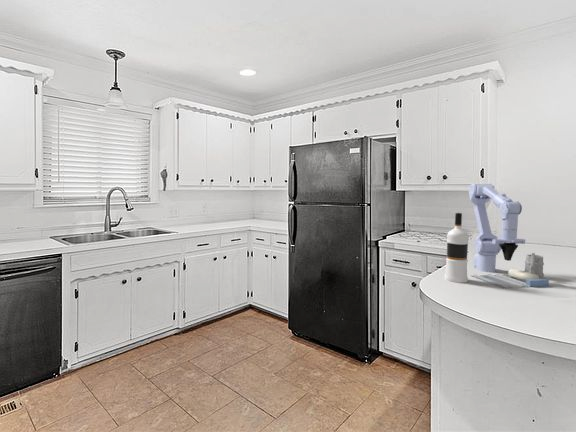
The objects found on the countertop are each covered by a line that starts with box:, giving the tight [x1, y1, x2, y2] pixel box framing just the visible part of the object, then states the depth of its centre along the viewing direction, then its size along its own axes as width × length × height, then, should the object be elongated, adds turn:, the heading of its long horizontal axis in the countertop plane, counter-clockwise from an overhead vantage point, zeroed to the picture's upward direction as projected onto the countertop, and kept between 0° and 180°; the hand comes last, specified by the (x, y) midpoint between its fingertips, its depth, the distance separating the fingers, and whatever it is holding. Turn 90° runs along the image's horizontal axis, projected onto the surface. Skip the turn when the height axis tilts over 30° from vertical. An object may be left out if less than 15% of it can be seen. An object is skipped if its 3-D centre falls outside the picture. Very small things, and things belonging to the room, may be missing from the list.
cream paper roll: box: [507, 267, 540, 282], centre depth 149 cm, size 12×4×4 cm
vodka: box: [443, 212, 470, 284], centre depth 149 cm, size 9×9×30 cm
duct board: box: [471, 273, 553, 289], centre depth 149 cm, size 20×22×4 cm
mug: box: [523, 252, 545, 279], centre depth 158 cm, size 8×12×12 cm, turn 139°
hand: (507, 260), depth 152 cm, fingers closed
